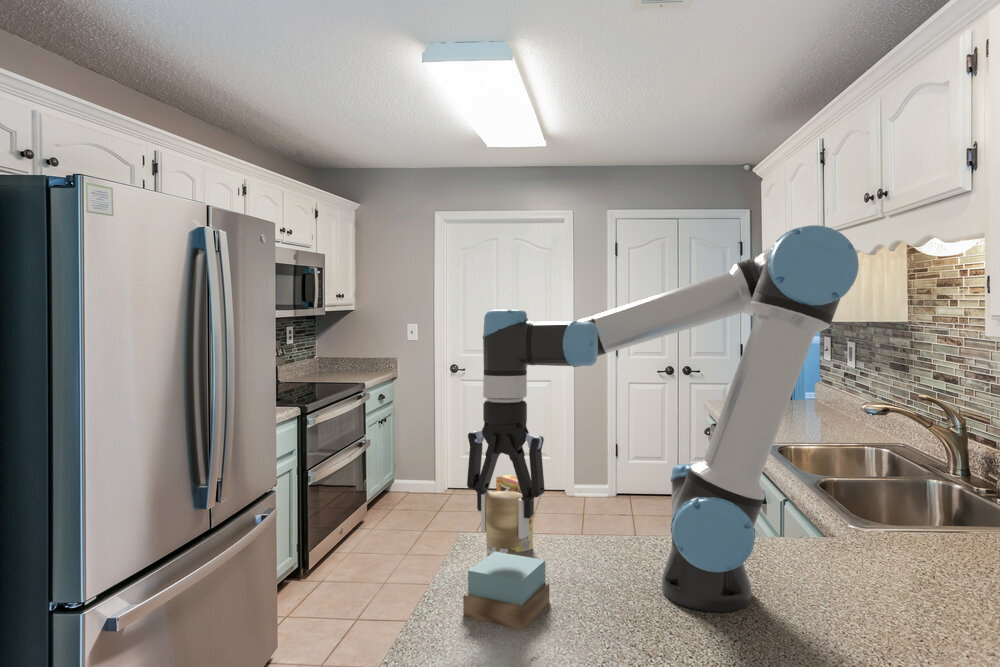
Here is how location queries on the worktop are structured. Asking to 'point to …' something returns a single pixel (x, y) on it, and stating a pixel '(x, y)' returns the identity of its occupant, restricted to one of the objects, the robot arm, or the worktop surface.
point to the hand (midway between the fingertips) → (505, 532)
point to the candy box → (512, 485)
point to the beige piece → (502, 519)
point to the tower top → (506, 577)
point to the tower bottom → (506, 609)
